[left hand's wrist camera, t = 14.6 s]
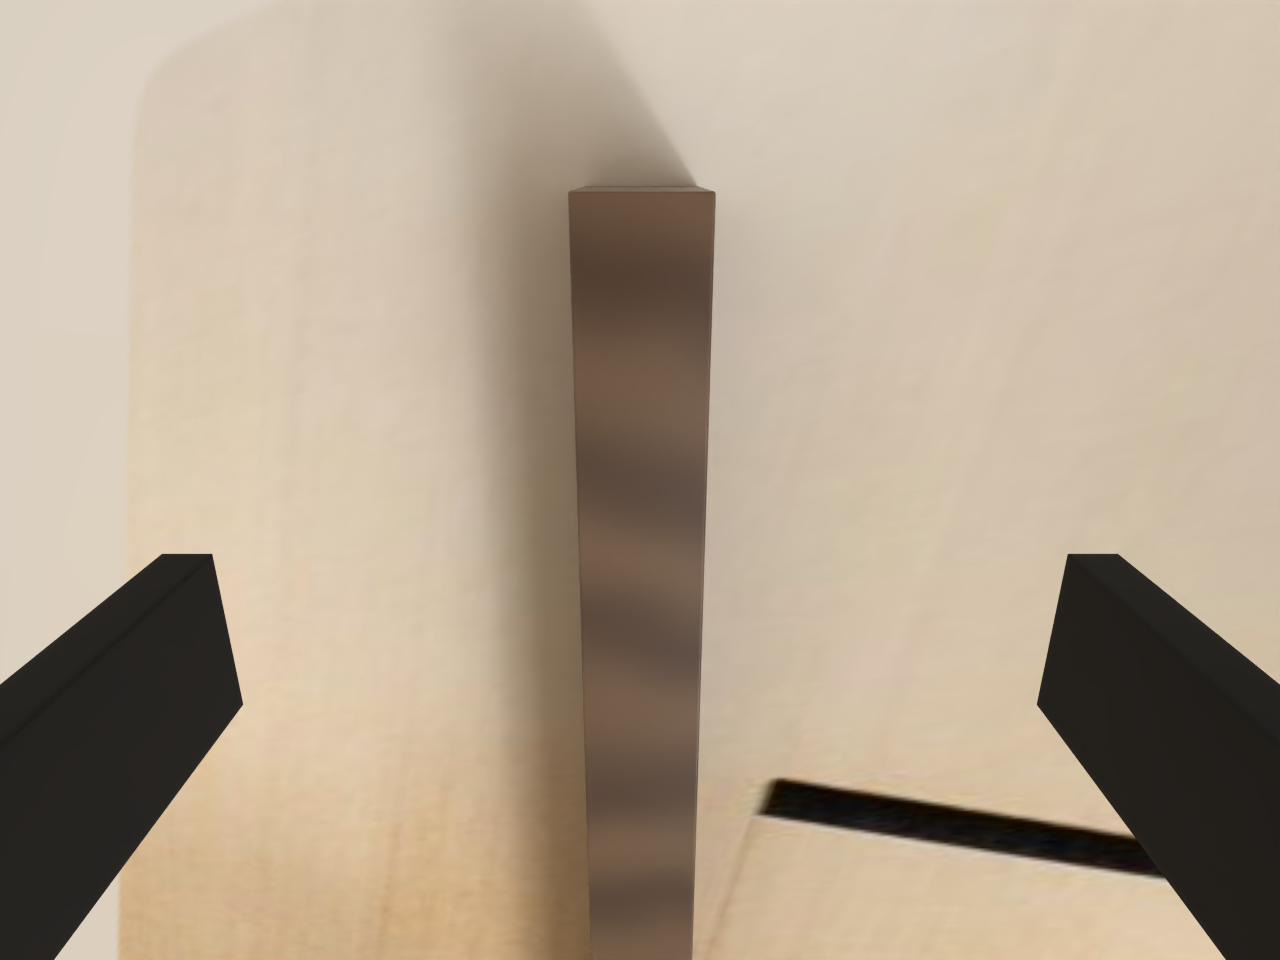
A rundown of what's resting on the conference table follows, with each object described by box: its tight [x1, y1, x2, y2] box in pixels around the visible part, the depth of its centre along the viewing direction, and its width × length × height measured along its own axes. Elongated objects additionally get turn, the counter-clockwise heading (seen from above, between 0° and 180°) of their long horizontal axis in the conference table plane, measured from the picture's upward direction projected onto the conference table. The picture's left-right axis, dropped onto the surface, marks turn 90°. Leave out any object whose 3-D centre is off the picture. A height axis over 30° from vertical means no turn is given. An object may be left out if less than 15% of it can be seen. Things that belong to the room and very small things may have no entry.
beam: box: [568, 186, 716, 960], centre depth 40 cm, size 70×4×7 cm, turn 0°
